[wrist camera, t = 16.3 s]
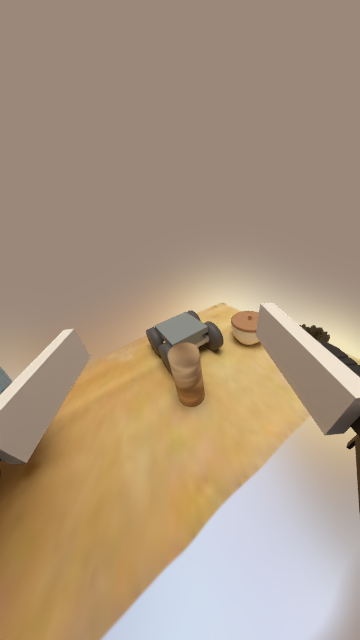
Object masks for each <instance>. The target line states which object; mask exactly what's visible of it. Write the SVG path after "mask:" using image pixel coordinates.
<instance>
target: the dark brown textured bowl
mask: <svg viewBox="0 0 360 640" xmlns="http://www.w3.org/2000/svg"><path fill="white" fill-rule="evenodd" d="M299 326H300V327H302V328H303V329H304V330H305V331H306V332H307V333H309V334H310V335H311V336H312V337H313V338H314V339H316V340H317V341H318V342H323V341H325V342H328V341H329V339H330V335H327V332H323V329H322V328H316V326H314V325H313V326H311V328H309V327H306V325H305V324H303V325H302V326H301V325H299Z"/></svg>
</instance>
